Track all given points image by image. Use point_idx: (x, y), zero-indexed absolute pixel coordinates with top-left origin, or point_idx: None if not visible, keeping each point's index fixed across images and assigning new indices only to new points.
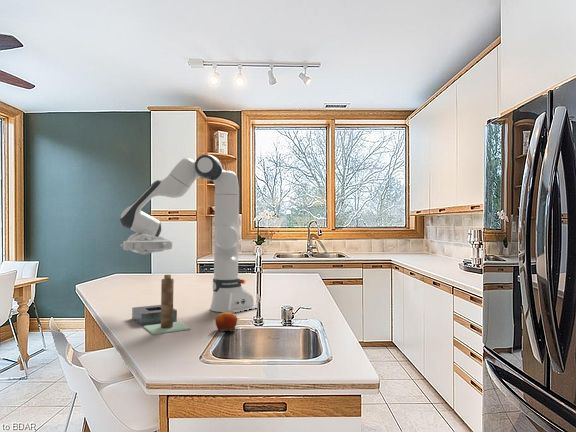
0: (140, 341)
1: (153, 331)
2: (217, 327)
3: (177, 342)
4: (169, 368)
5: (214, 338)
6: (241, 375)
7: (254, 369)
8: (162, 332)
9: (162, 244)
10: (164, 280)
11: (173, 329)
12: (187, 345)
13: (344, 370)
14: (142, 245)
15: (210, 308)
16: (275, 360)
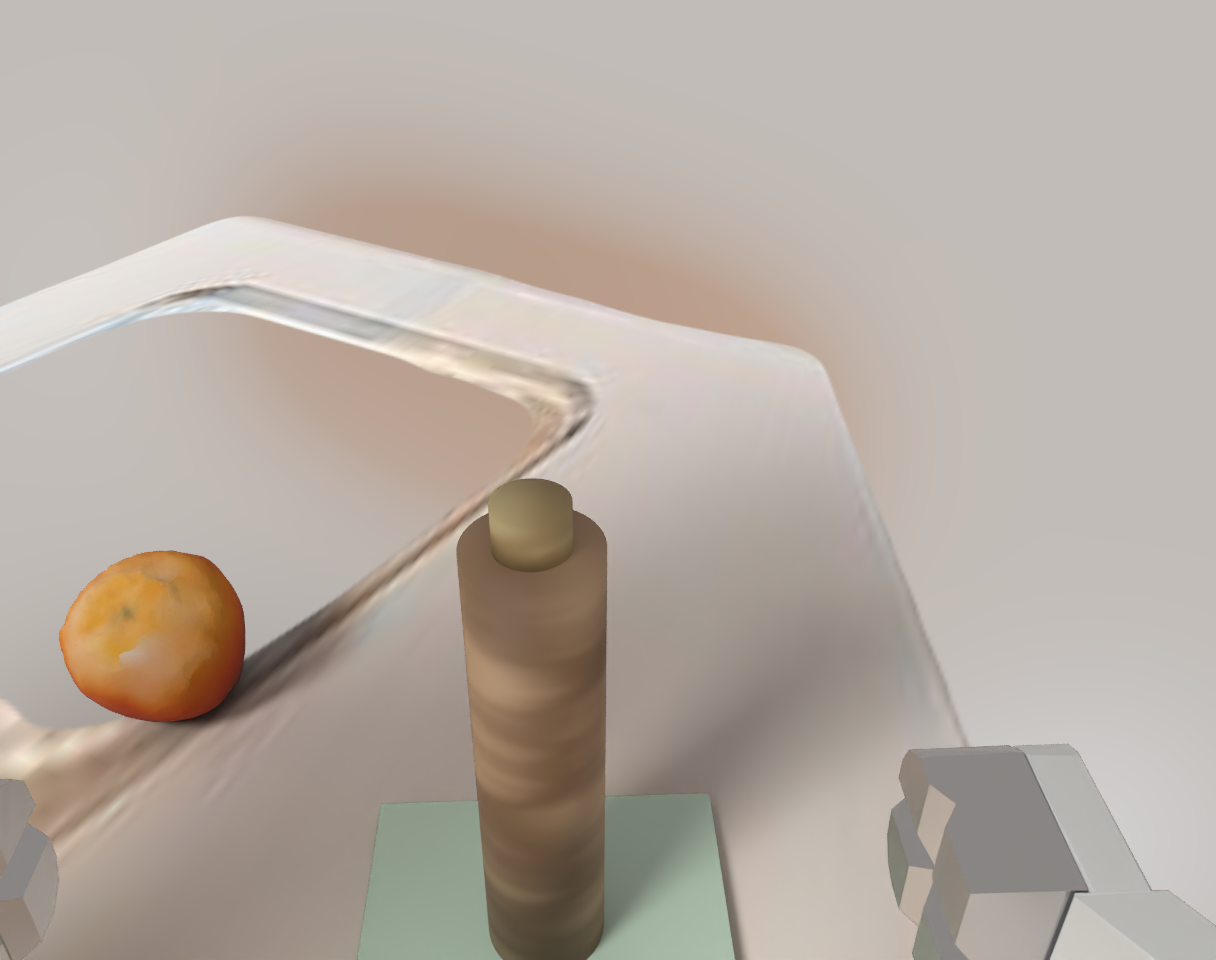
0: (816, 702)
1: (695, 834)
2: (241, 665)
3: None
4: (732, 392)
5: (364, 587)
6: (529, 303)
7: (463, 315)
8: (629, 799)
9: (16, 785)
10: (587, 519)
11: None
12: None
13: (237, 251)
14: (932, 758)
15: None
16: (342, 335)
